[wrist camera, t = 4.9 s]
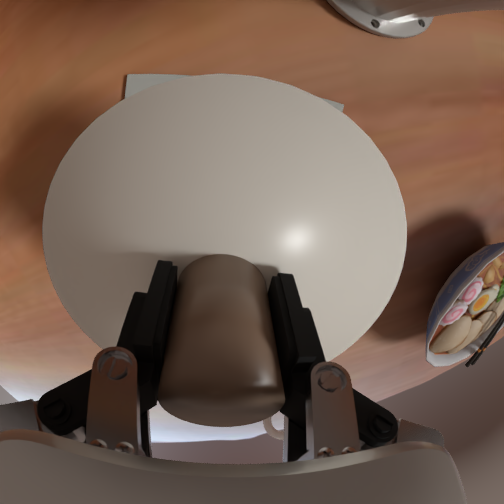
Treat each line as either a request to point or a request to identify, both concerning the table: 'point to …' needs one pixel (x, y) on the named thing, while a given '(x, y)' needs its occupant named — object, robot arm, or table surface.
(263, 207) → the lid
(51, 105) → the table surface
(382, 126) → the table surface
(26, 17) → the table surface
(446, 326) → the ramen bowl
